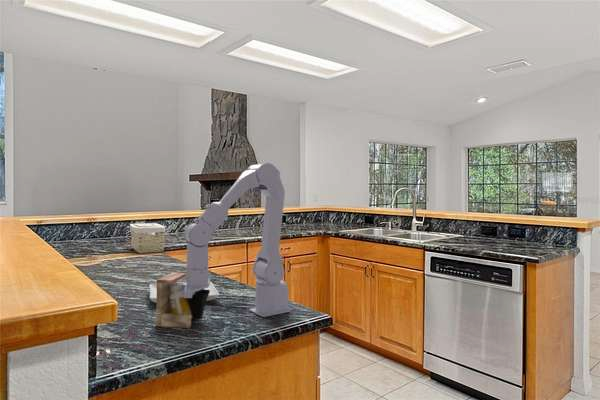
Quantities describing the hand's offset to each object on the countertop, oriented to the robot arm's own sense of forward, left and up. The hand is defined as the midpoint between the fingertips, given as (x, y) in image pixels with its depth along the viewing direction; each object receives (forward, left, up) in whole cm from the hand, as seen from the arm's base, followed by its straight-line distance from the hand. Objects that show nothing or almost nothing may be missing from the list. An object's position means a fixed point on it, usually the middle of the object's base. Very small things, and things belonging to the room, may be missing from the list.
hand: (197, 317), depth 111 cm
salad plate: (-7, -27, -2) cm, 28 cm away
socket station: (+3, -3, -1) cm, 5 cm away
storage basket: (-30, -138, -2) cm, 141 cm away
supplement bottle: (+3, -3, -1) cm, 4 cm away
